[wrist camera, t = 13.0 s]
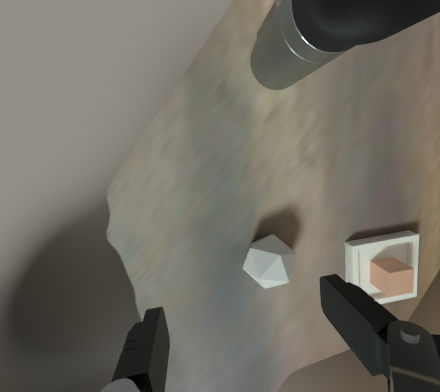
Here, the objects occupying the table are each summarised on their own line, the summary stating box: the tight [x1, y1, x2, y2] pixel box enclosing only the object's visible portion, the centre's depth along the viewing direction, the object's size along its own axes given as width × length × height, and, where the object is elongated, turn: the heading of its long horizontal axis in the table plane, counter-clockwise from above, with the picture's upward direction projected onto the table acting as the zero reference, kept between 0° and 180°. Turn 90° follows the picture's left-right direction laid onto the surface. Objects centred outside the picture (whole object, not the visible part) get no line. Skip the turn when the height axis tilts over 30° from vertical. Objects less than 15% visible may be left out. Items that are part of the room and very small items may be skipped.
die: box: [243, 234, 296, 288], centre depth 44 cm, size 8×9×10 cm
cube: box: [370, 257, 414, 297], centre depth 48 cm, size 5×5×5 cm
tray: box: [345, 230, 419, 304], centre depth 50 cm, size 14×14×2 cm
